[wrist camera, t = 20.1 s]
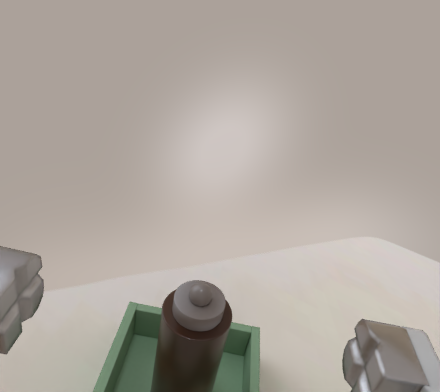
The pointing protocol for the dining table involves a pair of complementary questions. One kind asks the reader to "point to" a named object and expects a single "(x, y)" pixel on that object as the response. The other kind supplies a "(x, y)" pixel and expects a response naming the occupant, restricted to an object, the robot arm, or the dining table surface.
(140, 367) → the tray
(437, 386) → the robot arm
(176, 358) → the pepper mill
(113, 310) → the dining table surface
